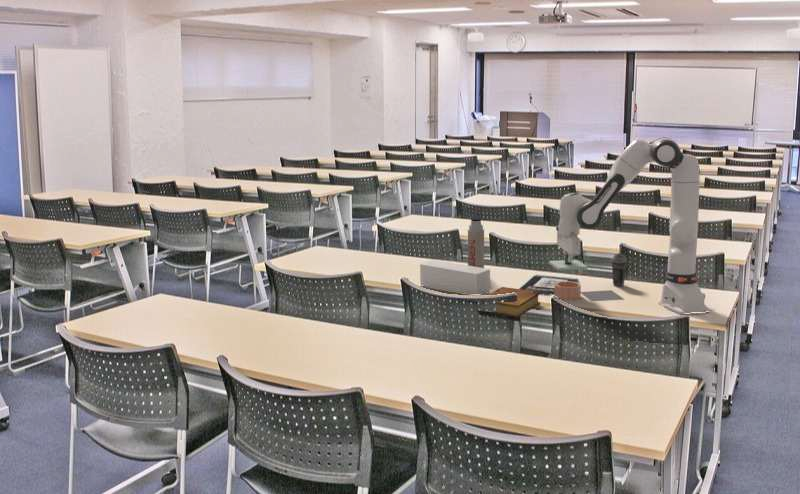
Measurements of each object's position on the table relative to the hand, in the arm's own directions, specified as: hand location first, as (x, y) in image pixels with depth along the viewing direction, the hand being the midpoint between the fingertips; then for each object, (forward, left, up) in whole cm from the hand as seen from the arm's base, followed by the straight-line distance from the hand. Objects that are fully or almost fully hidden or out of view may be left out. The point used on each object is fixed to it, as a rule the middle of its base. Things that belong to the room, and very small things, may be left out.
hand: (568, 260), depth 359 cm
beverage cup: (+13, -29, -17) cm, 36 cm away
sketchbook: (+20, +2, -17) cm, 26 cm away
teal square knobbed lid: (0, 0, -3) cm, 3 cm away
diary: (-9, +29, -17) cm, 35 cm away
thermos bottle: (+49, +30, -17) cm, 60 cm away
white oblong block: (+25, +46, -17) cm, 55 cm away
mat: (-2, -15, -17) cm, 23 cm away
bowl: (0, 0, -17) cm, 17 cm away
